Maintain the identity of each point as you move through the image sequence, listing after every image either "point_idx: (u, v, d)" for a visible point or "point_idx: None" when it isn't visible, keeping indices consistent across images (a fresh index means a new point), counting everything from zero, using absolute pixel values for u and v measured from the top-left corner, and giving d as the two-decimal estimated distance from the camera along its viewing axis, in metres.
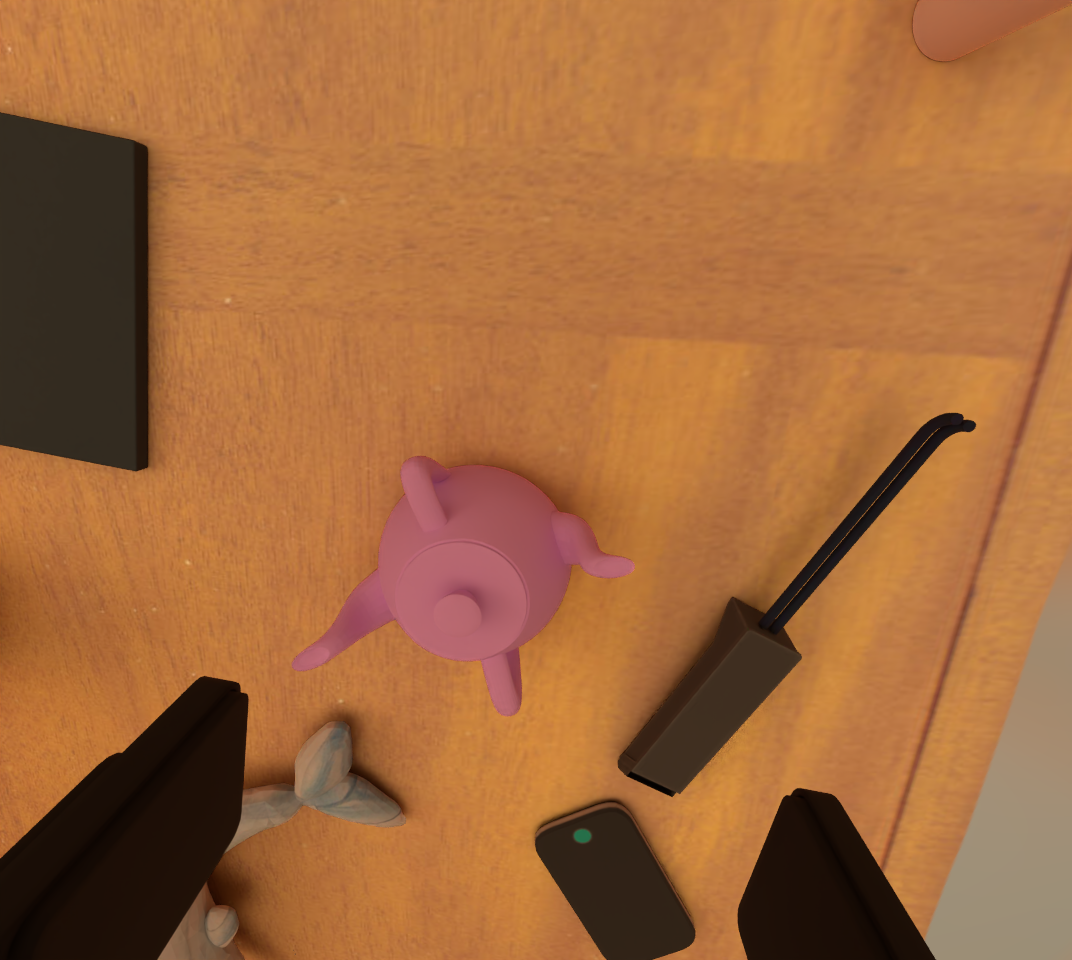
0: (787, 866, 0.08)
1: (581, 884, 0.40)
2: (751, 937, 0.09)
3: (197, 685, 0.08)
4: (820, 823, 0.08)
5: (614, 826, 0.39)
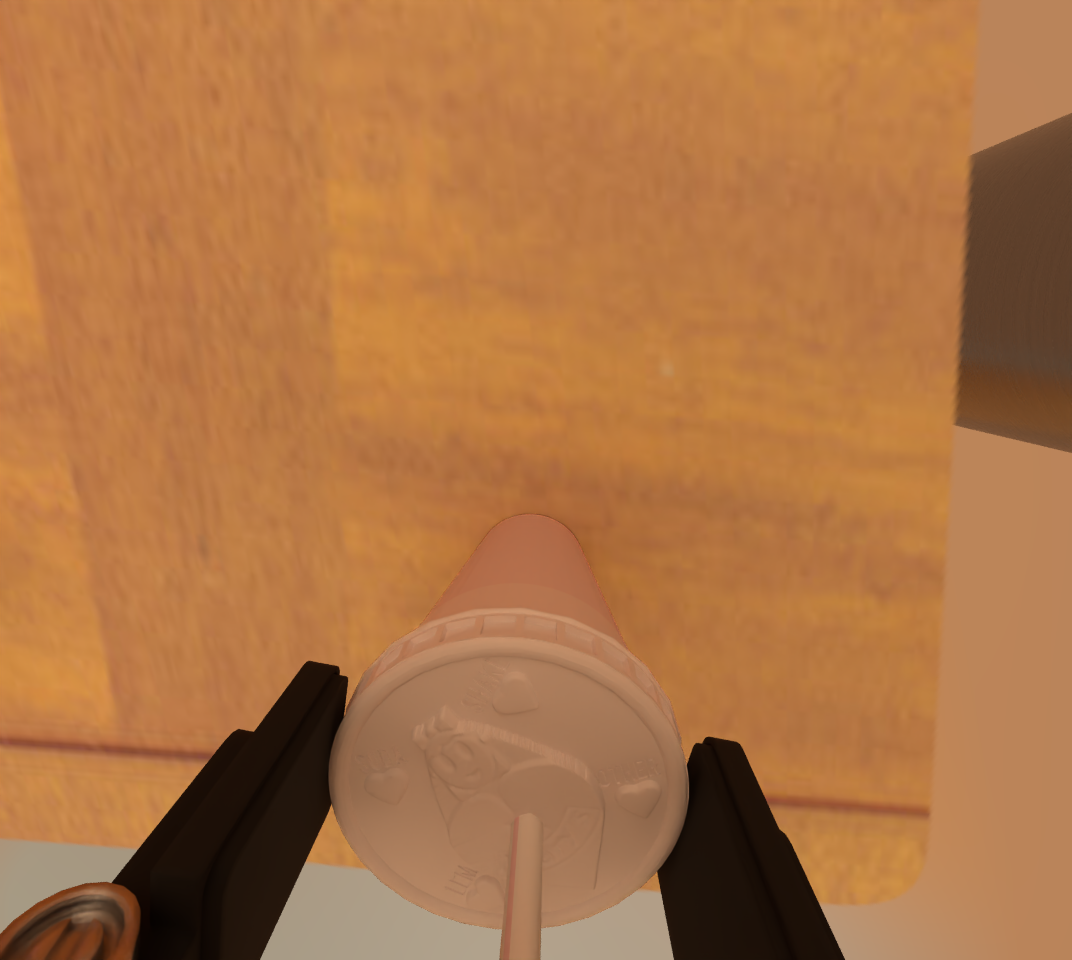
0: (692, 806, 0.09)
1: None
2: (664, 874, 0.10)
3: (305, 669, 0.09)
4: (722, 766, 0.09)
5: None
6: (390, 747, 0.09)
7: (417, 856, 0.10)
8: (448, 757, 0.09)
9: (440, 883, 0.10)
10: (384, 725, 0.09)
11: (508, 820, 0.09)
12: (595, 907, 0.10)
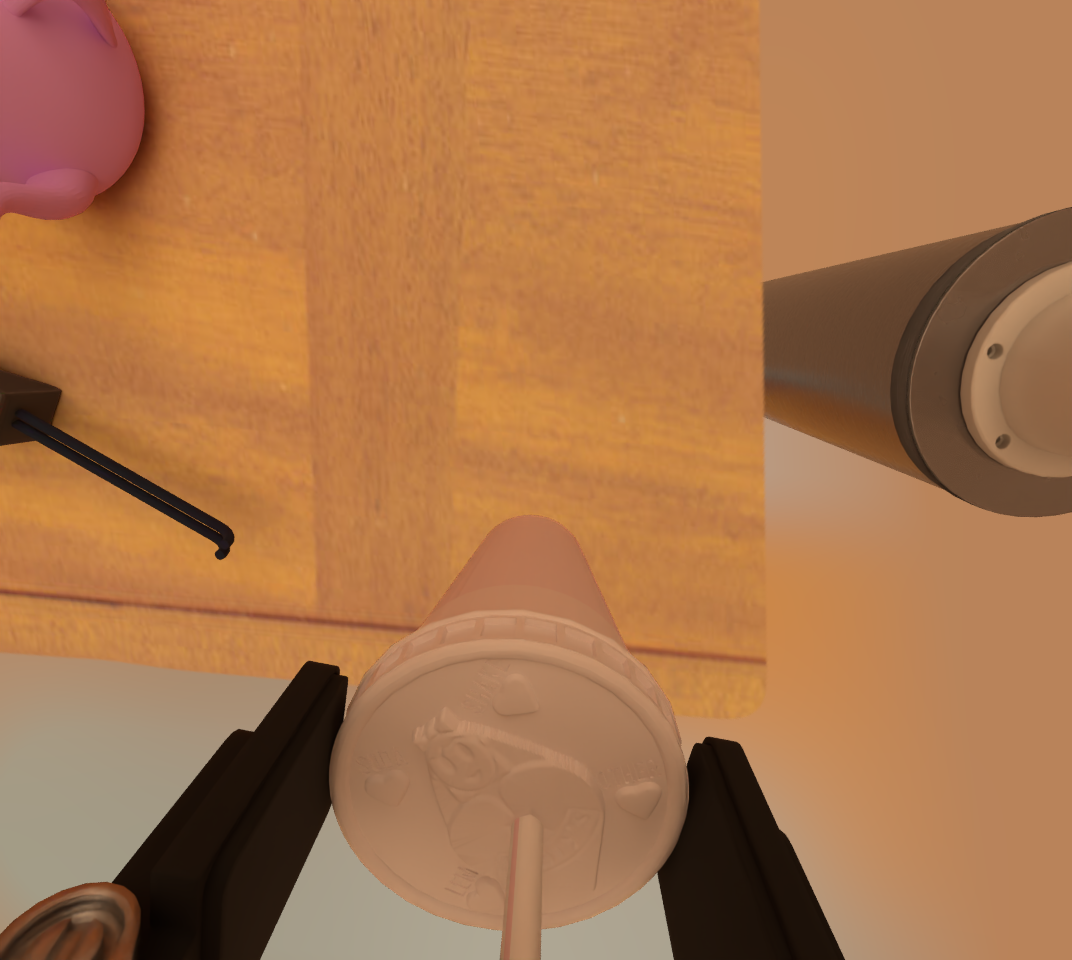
0: (693, 805, 0.09)
1: None
2: (664, 874, 0.10)
3: (306, 668, 0.09)
4: (722, 766, 0.09)
5: None
6: (390, 749, 0.09)
7: (417, 857, 0.10)
8: (448, 759, 0.09)
9: (441, 885, 0.10)
10: (384, 727, 0.09)
11: (508, 822, 0.09)
12: (595, 908, 0.10)
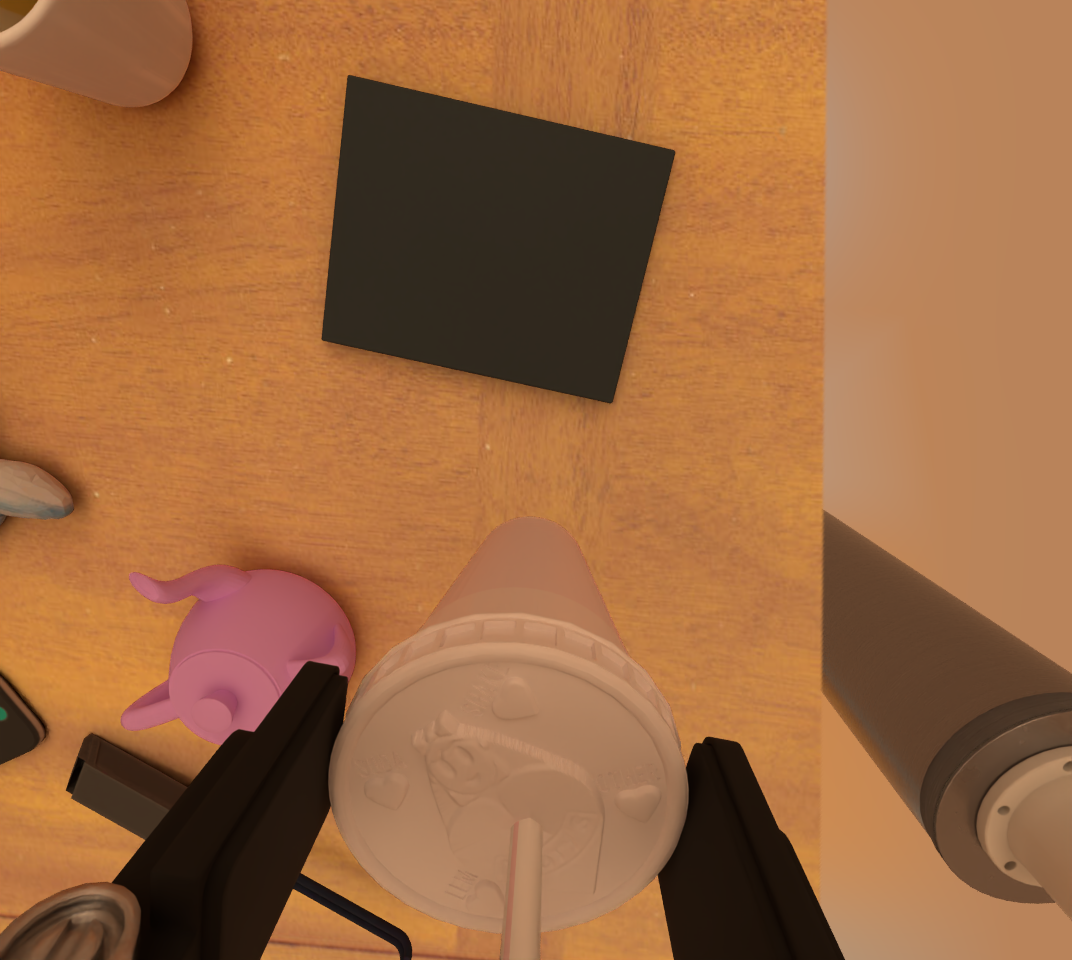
0: (693, 805, 0.09)
1: None
2: (664, 874, 0.10)
3: (306, 668, 0.09)
4: (722, 766, 0.09)
5: (17, 738, 0.41)
6: (389, 753, 0.09)
7: (417, 861, 0.10)
8: (448, 762, 0.09)
9: (440, 887, 0.10)
10: (384, 730, 0.09)
11: (508, 825, 0.09)
12: (595, 911, 0.10)
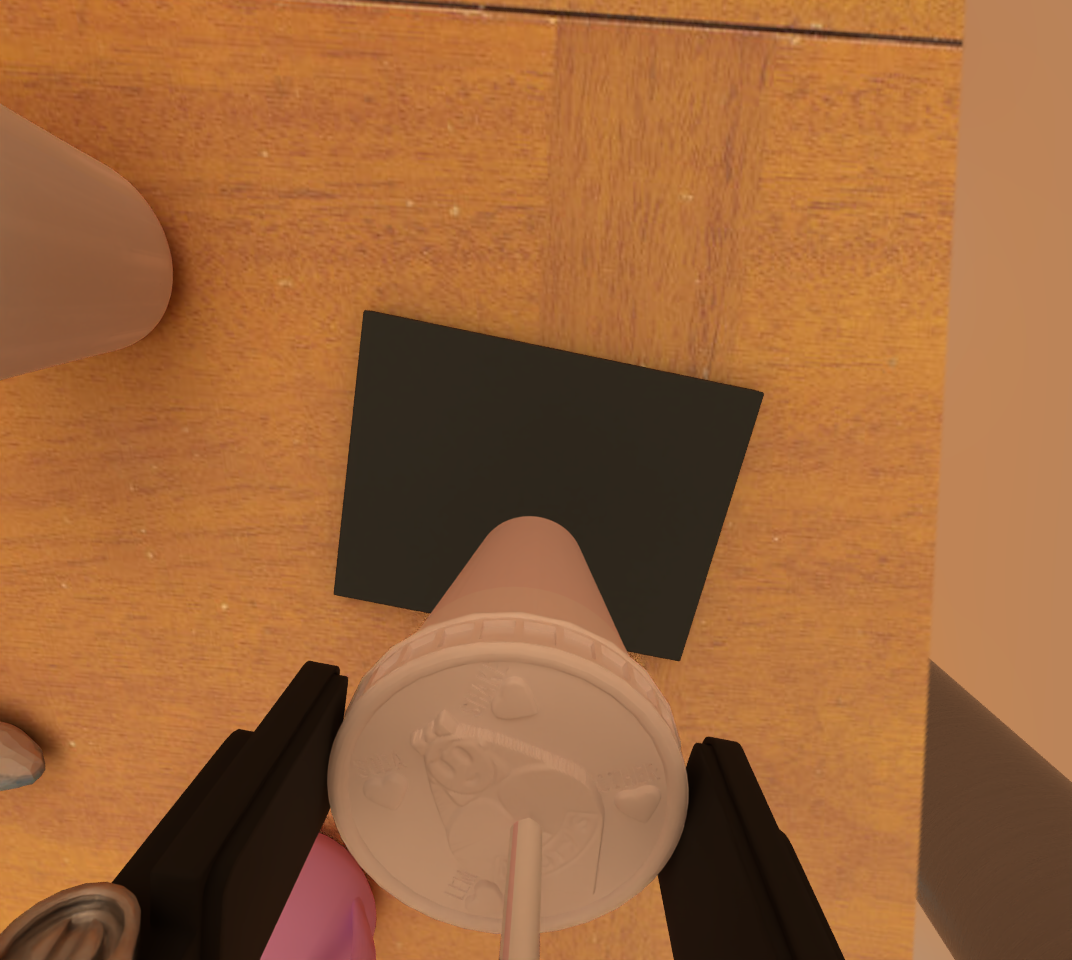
0: (692, 806, 0.09)
1: None
2: (665, 875, 0.10)
3: (306, 668, 0.09)
4: (721, 766, 0.09)
5: None
6: (388, 752, 0.09)
7: (416, 861, 0.10)
8: (447, 762, 0.09)
9: (439, 889, 0.10)
10: (383, 730, 0.09)
11: (507, 825, 0.09)
12: (594, 911, 0.10)
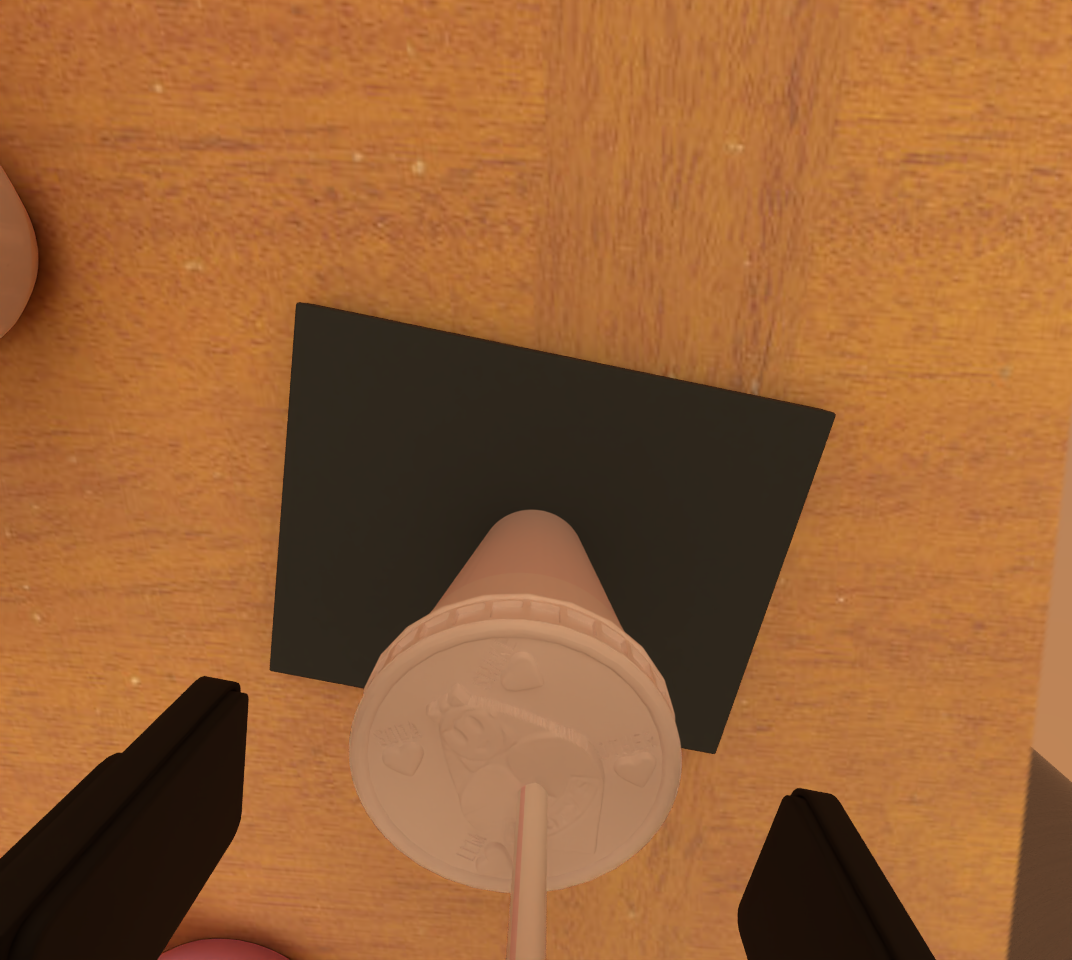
0: (787, 866, 0.08)
1: None
2: (751, 937, 0.09)
3: (197, 685, 0.08)
4: (821, 823, 0.08)
5: None
6: (405, 723, 0.10)
7: (430, 824, 0.11)
8: (460, 731, 0.10)
9: (451, 850, 0.11)
10: (401, 702, 0.10)
11: (515, 789, 0.10)
12: (595, 871, 0.11)
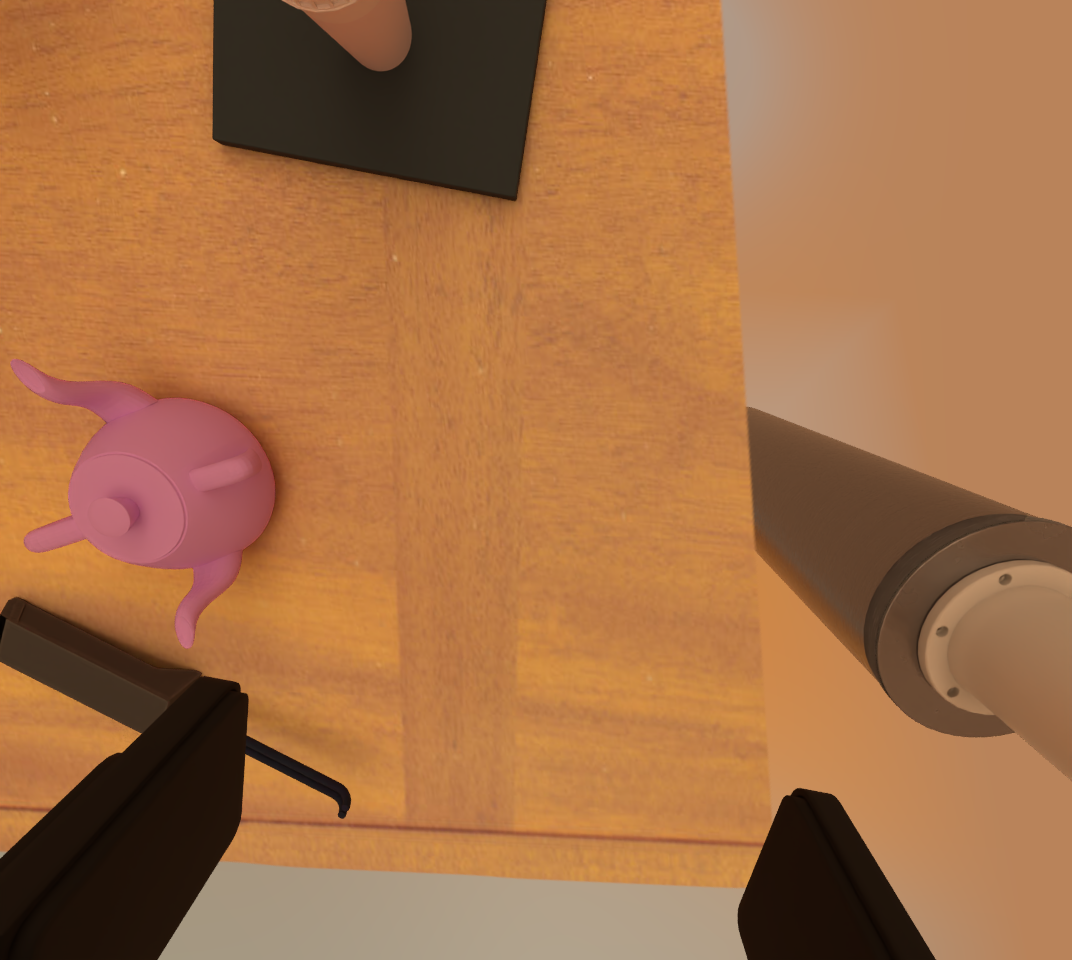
0: (787, 866, 0.08)
1: None
2: (751, 937, 0.09)
3: (197, 685, 0.08)
4: (820, 824, 0.08)
5: None
6: None
7: None
8: None
9: None
10: None
11: None
12: None
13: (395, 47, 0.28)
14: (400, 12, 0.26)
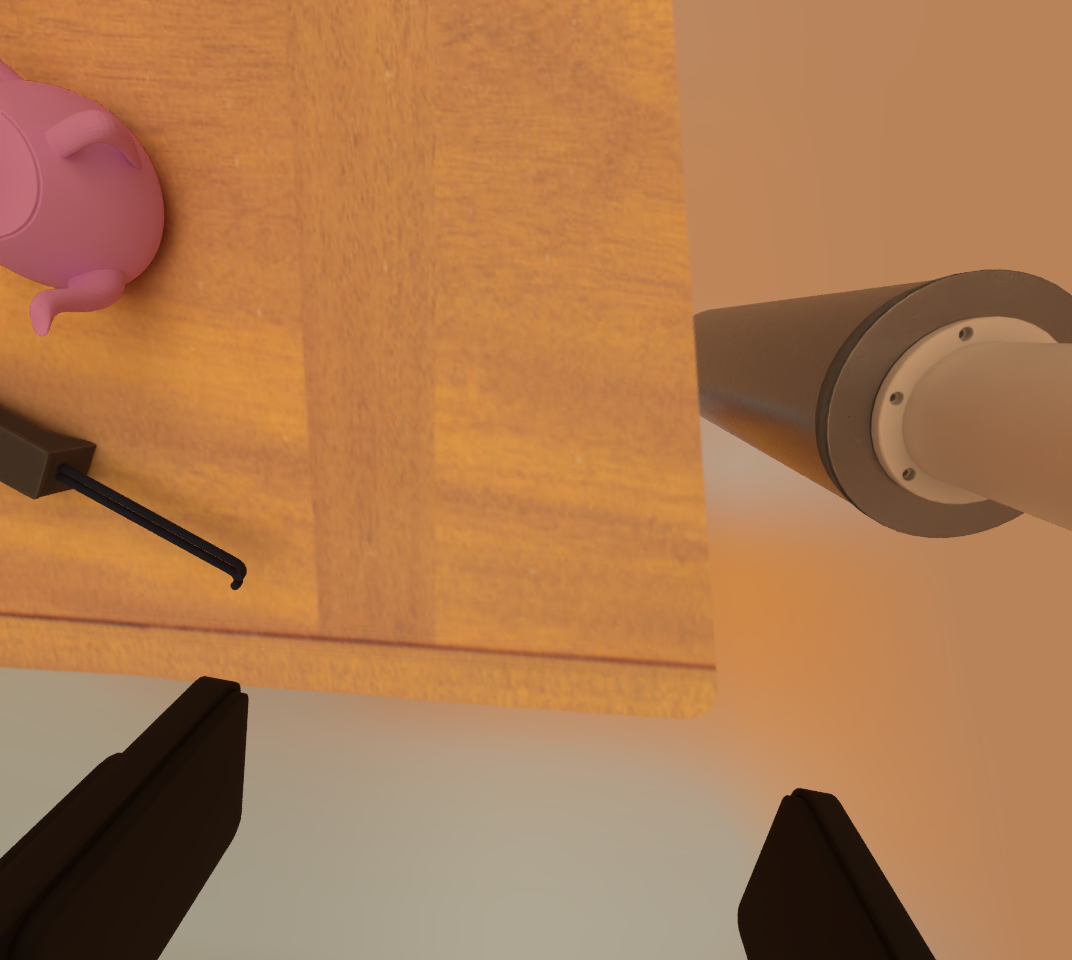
0: (787, 866, 0.08)
1: None
2: (751, 937, 0.09)
3: (197, 685, 0.08)
4: (821, 823, 0.08)
5: None
6: None
7: None
8: None
9: None
10: None
11: None
12: None
13: None
14: None
